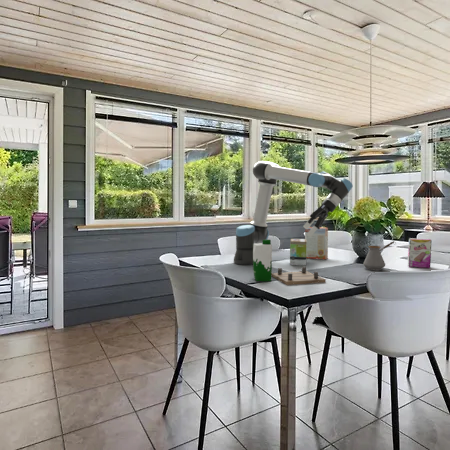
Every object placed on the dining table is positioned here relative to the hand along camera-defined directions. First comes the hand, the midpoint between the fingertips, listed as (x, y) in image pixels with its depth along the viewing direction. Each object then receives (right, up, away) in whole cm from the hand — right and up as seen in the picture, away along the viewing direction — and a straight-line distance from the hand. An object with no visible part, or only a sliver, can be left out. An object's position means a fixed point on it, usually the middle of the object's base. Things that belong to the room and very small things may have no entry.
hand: (306, 232), depth 198 cm
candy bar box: (+66, -21, +7) cm, 70 cm away
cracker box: (+16, -19, +41) cm, 47 cm away
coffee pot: (+43, -21, +5) cm, 48 cm away
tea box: (0, -20, +24) cm, 31 cm away
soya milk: (-27, -24, -21) cm, 42 cm away
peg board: (-9, -23, -20) cm, 32 cm away
